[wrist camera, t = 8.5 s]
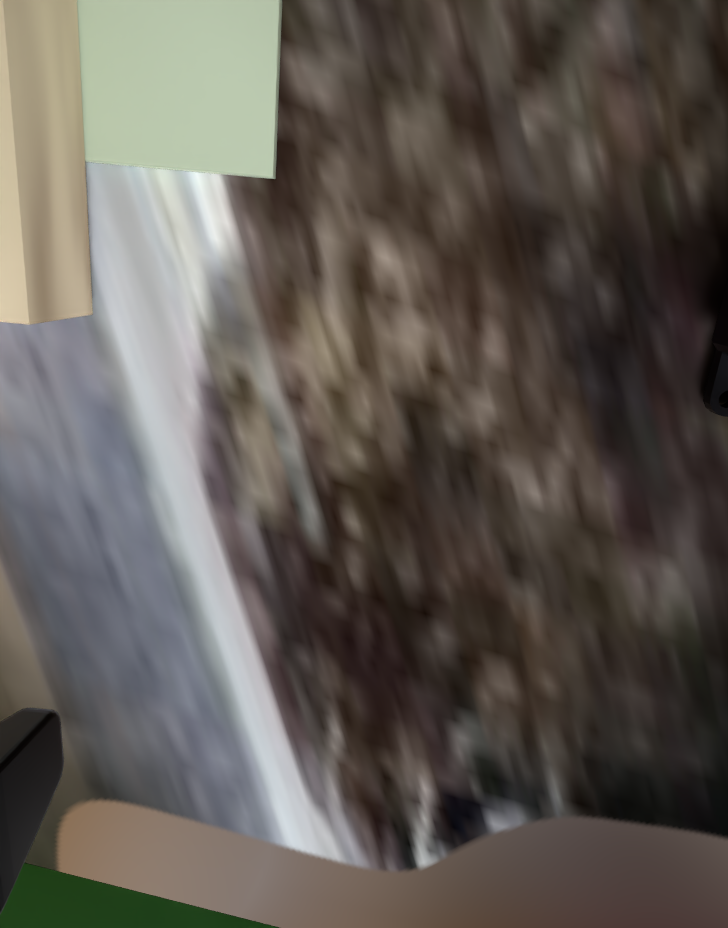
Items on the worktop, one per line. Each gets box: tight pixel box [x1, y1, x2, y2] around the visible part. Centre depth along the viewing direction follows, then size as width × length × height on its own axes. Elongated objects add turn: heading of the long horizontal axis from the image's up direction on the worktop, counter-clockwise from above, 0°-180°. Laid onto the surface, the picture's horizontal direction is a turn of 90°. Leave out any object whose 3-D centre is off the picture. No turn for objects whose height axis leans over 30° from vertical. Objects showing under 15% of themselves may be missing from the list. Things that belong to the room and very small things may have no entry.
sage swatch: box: [77, 0, 282, 179], centre depth 16 cm, size 6×6×1 cm
